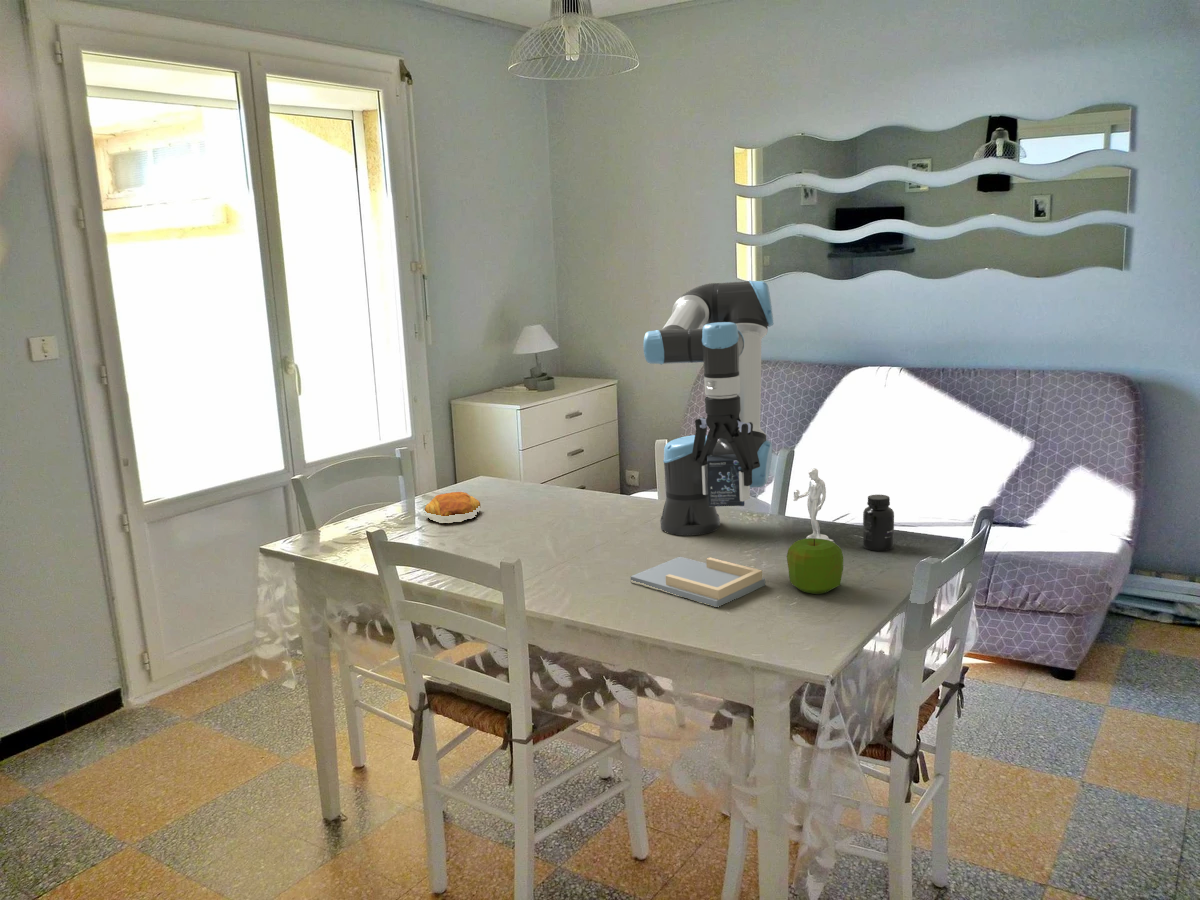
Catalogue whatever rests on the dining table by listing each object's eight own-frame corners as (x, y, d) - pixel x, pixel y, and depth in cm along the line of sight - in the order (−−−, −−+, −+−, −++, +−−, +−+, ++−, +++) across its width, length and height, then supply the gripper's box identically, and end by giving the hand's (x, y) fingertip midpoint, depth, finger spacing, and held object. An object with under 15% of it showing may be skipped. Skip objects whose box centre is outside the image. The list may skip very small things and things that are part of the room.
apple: (853, 586, 197) (852, 535, 195) (824, 601, 190) (823, 549, 187) (807, 575, 205) (806, 526, 203) (777, 589, 198) (776, 539, 195)
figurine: (792, 539, 229) (790, 467, 225) (816, 534, 231) (815, 462, 227) (812, 549, 221) (810, 474, 217) (836, 544, 224) (836, 469, 220)
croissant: (428, 521, 273) (421, 494, 272) (481, 507, 275) (474, 481, 274) (428, 534, 259) (420, 506, 258) (484, 520, 261) (477, 492, 259)
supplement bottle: (895, 552, 216) (895, 500, 213) (864, 551, 217) (863, 501, 214) (892, 542, 222) (892, 492, 220) (862, 542, 224) (861, 493, 221)
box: (708, 507, 207) (706, 460, 205) (708, 500, 212) (706, 454, 210) (745, 506, 206) (743, 459, 204) (744, 499, 211) (742, 453, 209)
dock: (630, 582, 207) (629, 567, 206) (679, 562, 218) (679, 548, 217) (716, 608, 190) (715, 591, 189) (765, 585, 201) (764, 569, 200)
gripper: (671, 394, 209) (676, 493, 214) (754, 401, 194) (758, 508, 199) (693, 389, 214) (697, 486, 219) (775, 396, 199) (778, 499, 204)
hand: (726, 496), depth 209 cm, fingers closed on box, 9 cm apart
